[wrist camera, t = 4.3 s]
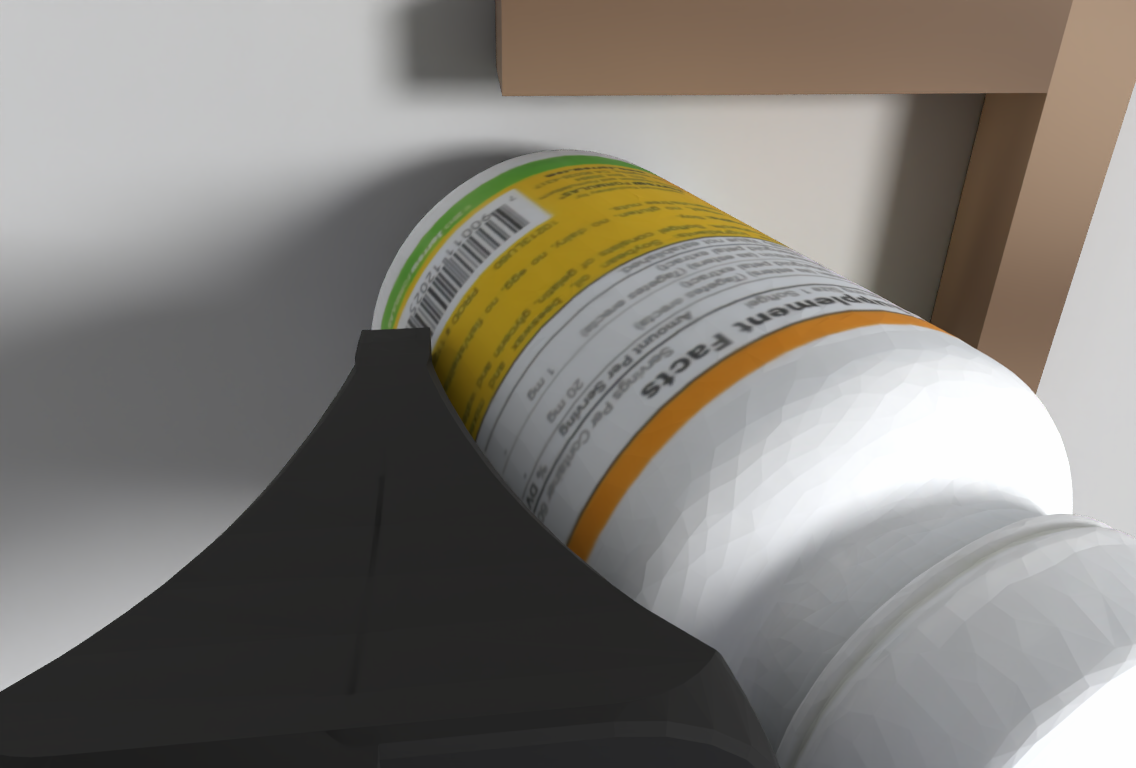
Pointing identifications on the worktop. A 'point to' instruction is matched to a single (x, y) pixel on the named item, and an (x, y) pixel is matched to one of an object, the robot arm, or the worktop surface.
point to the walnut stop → (892, 66)
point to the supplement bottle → (780, 469)
